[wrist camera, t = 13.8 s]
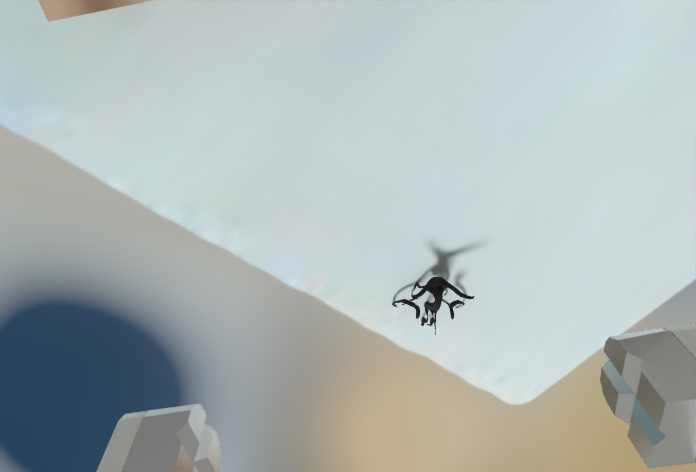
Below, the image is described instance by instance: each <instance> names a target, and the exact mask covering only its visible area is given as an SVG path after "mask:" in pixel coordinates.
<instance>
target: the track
mask: <svg viewBox="0 0 696 472" xmlns="http://www.w3.org/2000/svg"><path fill="white" fill-rule="evenodd" d="M38 1H39V3H40V5H41V7H42V9H43V11H44V13H45V16H46V18H47V20H48V22H49V21H54V20H59V19H64V18H69V17H74V16H79V15H83V14H88V13H93V12H98V11H103V10H108V9H113V8H117V7H122V6H127V5H132V4H137V3H142V2H147V1H151V0H38Z"/></svg>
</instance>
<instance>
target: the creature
mask: <svg viewBox="0 0 696 472" xmlns="http://www.w3.org/2000/svg"><path fill="white" fill-rule="evenodd" d="M416 286H418V288H423V289H422V290H421V291H420V292H419V293H418V294H416V295H413V294H412V295H411V296H412V298H414V299H412V300H415V299H418V298H417V297H420V296H422V295H423V294H424V293H425V292H426V291H429V292H430V293H432V294H433V296H434V298H435V301H434V302H433V303H430V302H429V301H427V302H425V304H424V306H425V311H426V314H427V320H426V318H424V317H423V318H422V320H421V321H422V324H421V325H422V326H424V323H427V322H428V310H430V312H431V313H432V315H433V313H435V320H434V316H433V317H432V318H431V320H430V325H429V324H427V325H429V326H432V324H433V323H434V325H435V335H436V313H437V311H438V310H439V308H440V306H441V301H444V300H442V292H443V291H444V290H446V288H447V287H448V288H450V289H451V290H453V291H454V292H455V293H456V294H457V295H459V296H460V297H463V298H466V299H473V298H474V296H473V297H471V296H467V295H465V294H463V293H461V292H460V291H459V290H458V289H456V288H455V287H454V286H453V285H451V284H450V283H448V282H447V281H446V280H445V279H443V278H441V277H433V278H431V279H430V280H429V281H428V283H427V284H426V285H425V286H419V284H418V283H417V282H416V283H415V286H414V289H415V288H416ZM414 289H413V290H414ZM413 290H412V291H413ZM446 291H447V290H446ZM446 294H447V293H446ZM446 294H445V295H446ZM445 295H444V296H445ZM412 300H410V301H409V300H406V299H402V300H398V301H395V302H393V303H392V305H393V306H394V303H400V302H403V303H404V304H408V305H410V306H412V307H414V308H415V309H416V319H418V318H419V316H420V308H419V306H417V305H416V304H415V303H413V302H411V301H412ZM444 302H445V301H444ZM445 303H447V302H445ZM404 304H402V305H404ZM447 304H448V303H447ZM457 304H463V305H464V304H465V303H464V302H462V301H459V300H456V301H453V302H452V303H450V305H449V304H448V305H449V308H450V314H451V318H452V319H454V311H453V307H454V306H455V305H457ZM463 305H462V306H463ZM396 307H397V306H396ZM460 307H461V306H460ZM456 308H458V307H456Z"/></svg>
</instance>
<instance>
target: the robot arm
mask: <svg viewBox="0 0 696 472" xmlns="http://www.w3.org/2000/svg"><path fill="white" fill-rule="evenodd" d="M604 352H605V353H606V355H607V357H608V358H609V360H608V361H607V362H606V363H605V364H604V365H603V366H602V367H601V377H600V381H601V386H602V391H603V394H604V396H605V399H606V401H607V403H608V405H609V407H610V409H611V410H612V412H613V413H614V415H615V416H617V417H618V418H620V419H621V420H623V421H625V422H626V423H628V424H629V430H628V437H629V439H630V440H631V442H632V444H633V445H634V447H635V448H636V450H637V451H638V453H639V454H640V456H641V458H642V459H643V461H644V462H645V464H646V466H647V467H648V468H656V467H664V466H673V465H681V464H689V463H696V326H695V325H693V324H684V325H679V326H673V327H666V328H662V329H660V328H658V329H653V330H647V331H641V332H635V333H629V334H623V335H618V336H612V337H609V338H608V339H607V341H606V342H605V348H604ZM205 419H206V413H205V411H204V409H203V408H202V406H201V404H195V405H187V406H179V407H172V408H164V409H157V410H149V411H145V412H137V413H130V414H125V415H124V416H123V417H122V418H121V419H120V420H119V421H118V423H117V425H116V428H115V430H114V432H113V435H112V437H111V440H110V442H109V444H108V446H107V449H106V451H105V453H104V455H103V458H102V460H101V462H100V465H99V467H98V469H97V472H219V466H220V444H219V440H218V436H217V434H216V432H215V430H214V428H212V427H210V426H208V425H206V424H204V423H205Z"/></svg>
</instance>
